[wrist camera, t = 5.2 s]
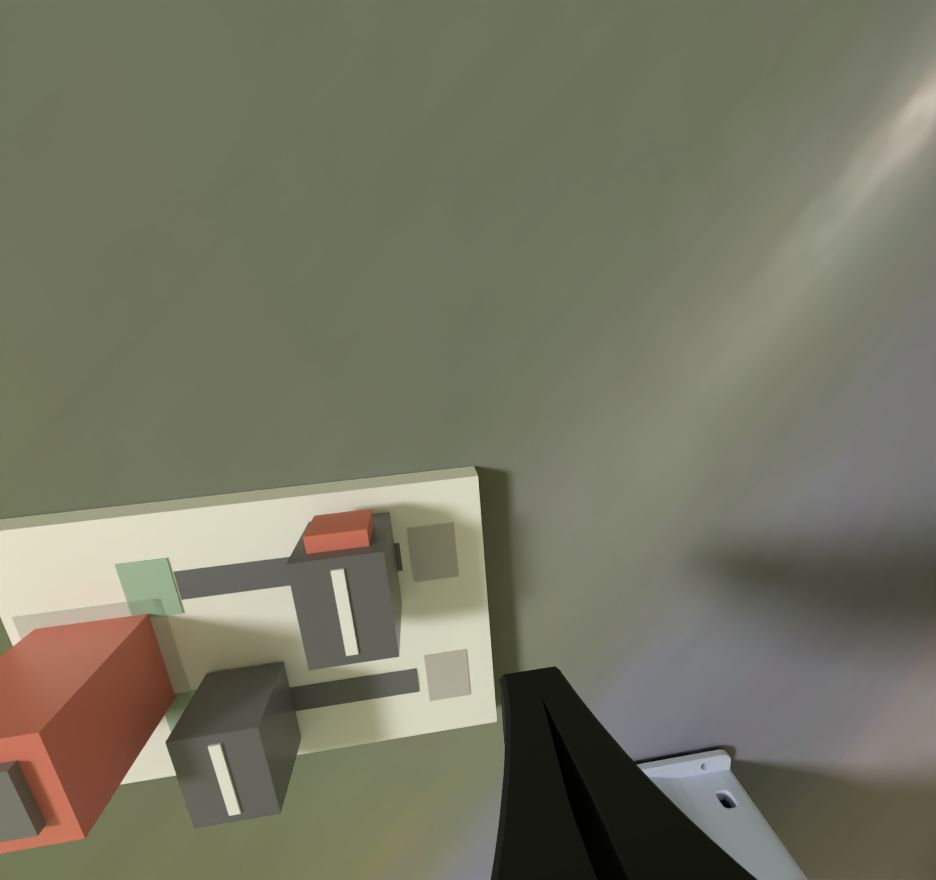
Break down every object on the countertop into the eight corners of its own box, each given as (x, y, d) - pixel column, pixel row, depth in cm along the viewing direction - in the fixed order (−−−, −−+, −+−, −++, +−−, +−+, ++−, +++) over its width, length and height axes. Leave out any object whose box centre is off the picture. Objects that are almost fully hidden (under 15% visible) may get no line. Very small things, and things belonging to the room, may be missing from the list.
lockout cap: (148, 613, 16) (29, 742, 11) (175, 697, 18) (77, 850, 12) (35, 628, 16) (-141, 769, 11) (69, 713, 17) (-76, 878, 12)
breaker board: (474, 466, 18) (478, 476, 17) (492, 699, 21) (497, 722, 20) (-3, 519, 16) (-37, 535, 15) (96, 764, 19) (74, 793, 18)
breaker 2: (387, 497, 16) (381, 535, 13) (401, 602, 18) (399, 658, 15) (305, 506, 16) (281, 547, 13) (326, 612, 17) (308, 672, 14)
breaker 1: (283, 661, 18) (257, 729, 15) (301, 738, 19) (279, 815, 16) (206, 673, 17) (164, 744, 14) (229, 749, 18) (193, 830, 15)
